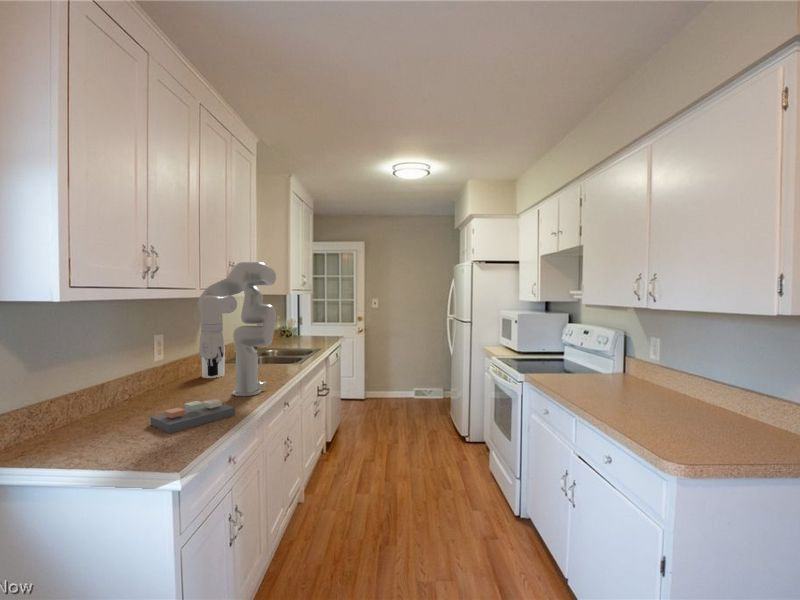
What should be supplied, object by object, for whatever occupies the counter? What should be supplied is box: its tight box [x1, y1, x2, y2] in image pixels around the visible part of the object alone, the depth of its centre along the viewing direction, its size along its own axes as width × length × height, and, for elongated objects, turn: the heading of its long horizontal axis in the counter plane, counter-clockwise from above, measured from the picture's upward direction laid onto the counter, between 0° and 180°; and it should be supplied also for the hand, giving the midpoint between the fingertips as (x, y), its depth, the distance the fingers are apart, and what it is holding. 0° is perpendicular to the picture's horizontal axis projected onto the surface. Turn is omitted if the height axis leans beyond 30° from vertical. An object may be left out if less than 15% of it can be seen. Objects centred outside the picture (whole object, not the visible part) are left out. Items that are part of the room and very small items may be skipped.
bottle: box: [201, 345, 226, 379], centre depth 222 cm, size 12×12×25 cm
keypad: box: [150, 403, 236, 434], centre depth 148 cm, size 24×14×3 cm, turn 145°
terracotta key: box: [163, 407, 185, 418], centre depth 142 cm, size 5×5×2 cm
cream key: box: [202, 398, 223, 409], centre depth 153 cm, size 5×5×2 cm
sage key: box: [183, 400, 204, 411], centre depth 147 cm, size 5×5×2 cm
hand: (212, 375), depth 153 cm, fingers closed
